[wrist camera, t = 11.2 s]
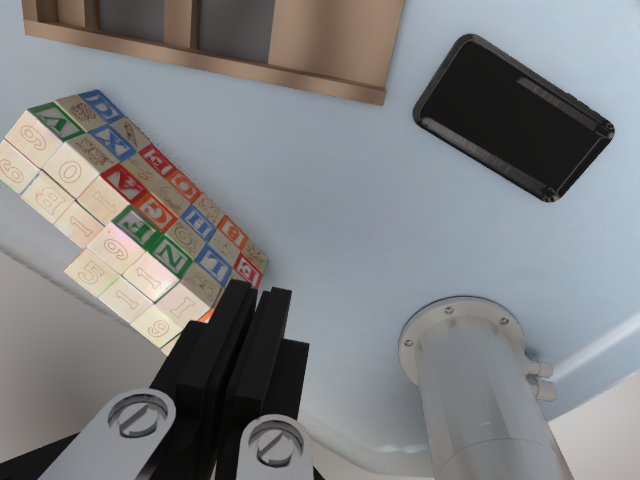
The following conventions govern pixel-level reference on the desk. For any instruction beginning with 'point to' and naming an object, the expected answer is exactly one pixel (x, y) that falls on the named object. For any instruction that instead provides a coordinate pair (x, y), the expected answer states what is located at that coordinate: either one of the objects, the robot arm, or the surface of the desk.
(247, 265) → the stack of blocks
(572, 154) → the phone
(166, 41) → the wooden shelf
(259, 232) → the desk surface
